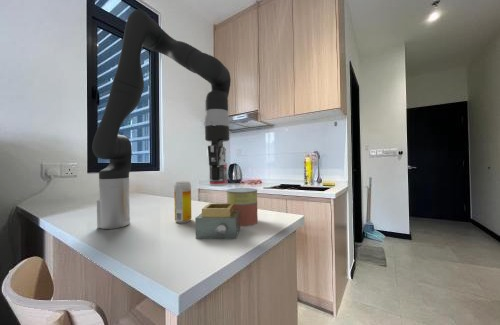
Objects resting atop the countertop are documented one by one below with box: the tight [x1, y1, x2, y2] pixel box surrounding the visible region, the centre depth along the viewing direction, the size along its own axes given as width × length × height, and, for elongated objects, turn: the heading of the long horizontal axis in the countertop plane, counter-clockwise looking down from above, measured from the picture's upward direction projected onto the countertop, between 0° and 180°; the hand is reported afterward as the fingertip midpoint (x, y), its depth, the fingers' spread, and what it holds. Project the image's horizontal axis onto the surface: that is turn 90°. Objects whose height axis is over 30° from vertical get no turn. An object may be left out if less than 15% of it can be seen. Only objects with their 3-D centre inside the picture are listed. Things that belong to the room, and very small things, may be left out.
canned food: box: [226, 187, 259, 228], centre depth 79 cm, size 11×11×12 cm
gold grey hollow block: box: [194, 202, 241, 240], centre depth 66 cm, size 12×12×8 cm
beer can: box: [173, 180, 192, 224], centre depth 82 cm, size 6×6×15 cm
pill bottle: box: [208, 155, 228, 187], centre depth 67 cm, size 5×5×10 cm
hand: (218, 179), depth 67 cm, fingers closed on pill bottle, 5 cm apart
